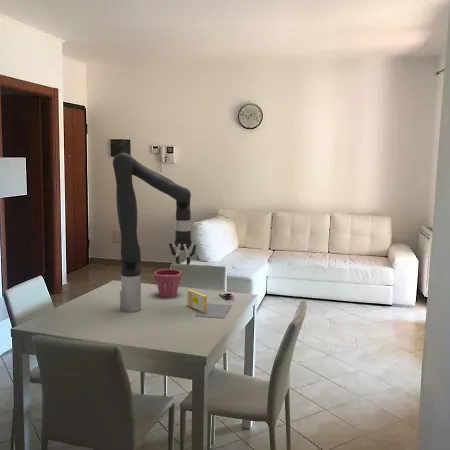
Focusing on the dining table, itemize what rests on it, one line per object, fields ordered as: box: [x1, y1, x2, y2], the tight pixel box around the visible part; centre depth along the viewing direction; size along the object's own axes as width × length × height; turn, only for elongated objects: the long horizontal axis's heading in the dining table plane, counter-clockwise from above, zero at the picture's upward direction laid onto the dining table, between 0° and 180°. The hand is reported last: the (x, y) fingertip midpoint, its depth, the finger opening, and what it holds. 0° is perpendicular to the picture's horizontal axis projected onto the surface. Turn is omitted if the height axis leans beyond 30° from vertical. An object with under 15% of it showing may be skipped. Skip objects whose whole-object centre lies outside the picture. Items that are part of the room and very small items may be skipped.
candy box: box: [186, 289, 208, 313], centre depth 246 cm, size 16×2×8 cm, turn 34°
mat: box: [194, 302, 233, 319], centre depth 245 cm, size 14×20×1 cm
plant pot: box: [154, 268, 182, 299], centre depth 269 cm, size 14×14×13 cm
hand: (183, 264), depth 244 cm, fingers open, 4 cm apart
